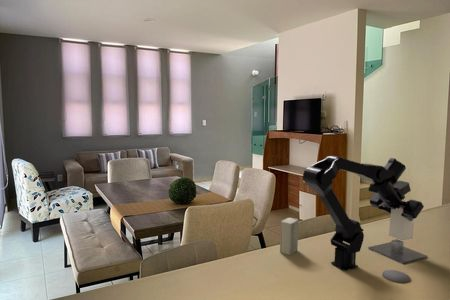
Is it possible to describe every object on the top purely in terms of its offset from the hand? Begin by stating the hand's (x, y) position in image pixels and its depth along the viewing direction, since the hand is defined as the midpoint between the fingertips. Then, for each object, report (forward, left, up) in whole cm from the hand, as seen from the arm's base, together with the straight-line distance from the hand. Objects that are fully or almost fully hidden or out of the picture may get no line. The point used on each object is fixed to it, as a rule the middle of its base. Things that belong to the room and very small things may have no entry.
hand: (404, 218), depth 130 cm
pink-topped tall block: (-1, 0, -7) cm, 7 cm away
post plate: (-3, 0, -13) cm, 13 cm away
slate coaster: (-20, -13, -13) cm, 27 cm away
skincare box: (-39, +18, -13) cm, 45 cm away
